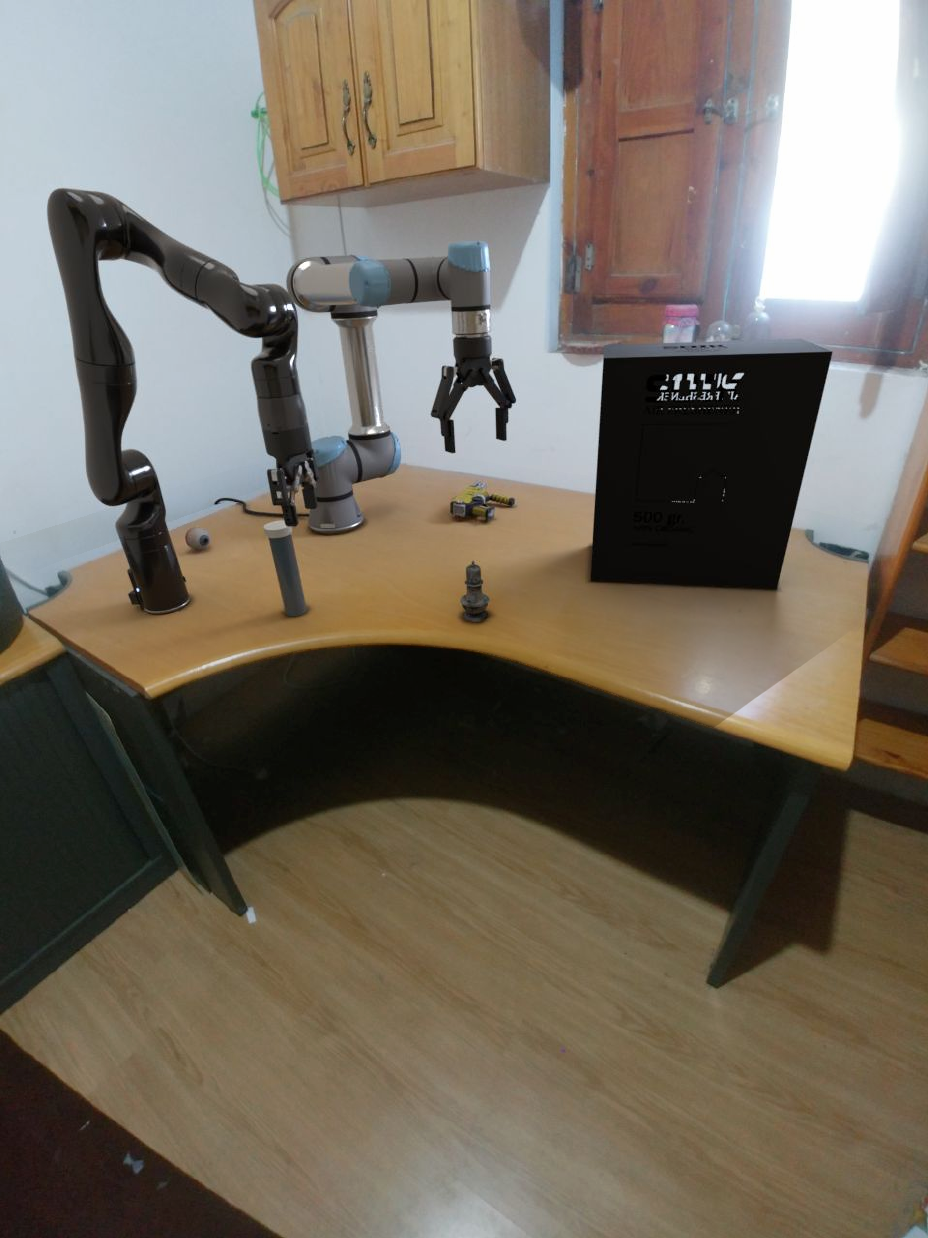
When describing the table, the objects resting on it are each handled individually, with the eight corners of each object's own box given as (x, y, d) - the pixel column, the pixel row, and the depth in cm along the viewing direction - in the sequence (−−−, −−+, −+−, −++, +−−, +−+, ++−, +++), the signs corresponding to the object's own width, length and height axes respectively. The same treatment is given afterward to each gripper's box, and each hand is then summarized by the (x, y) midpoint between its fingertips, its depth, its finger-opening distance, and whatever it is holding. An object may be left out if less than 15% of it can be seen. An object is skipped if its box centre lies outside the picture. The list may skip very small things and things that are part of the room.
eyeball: (199, 555, 155) (192, 533, 152) (183, 551, 158) (177, 529, 155) (218, 547, 159) (212, 525, 156) (203, 543, 162) (197, 522, 159)
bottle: (304, 616, 125) (286, 530, 115) (283, 617, 125) (263, 532, 115) (308, 605, 129) (291, 522, 119) (288, 606, 129) (269, 523, 119)
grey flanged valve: (487, 623, 118) (485, 567, 112) (458, 621, 119) (454, 566, 113) (492, 608, 123) (490, 554, 117) (464, 607, 124) (461, 553, 118)
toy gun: (523, 485, 181) (476, 478, 185) (501, 509, 161) (448, 500, 165) (521, 500, 184) (475, 493, 187) (499, 525, 163) (447, 517, 167)
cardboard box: (756, 549, 141) (800, 338, 118) (776, 589, 124) (832, 351, 101) (592, 544, 148) (604, 344, 126) (590, 580, 131) (603, 357, 109)
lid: (289, 537, 116) (287, 529, 115) (262, 538, 116) (260, 530, 115) (295, 527, 120) (293, 519, 119) (269, 528, 120) (267, 520, 119)
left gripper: (281, 414, 105) (299, 503, 114) (242, 433, 93) (264, 531, 102) (322, 413, 104) (336, 503, 112) (287, 433, 92) (306, 532, 100)
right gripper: (429, 342, 108) (437, 460, 118) (533, 329, 120) (532, 437, 131) (407, 340, 113) (417, 454, 124) (508, 328, 125) (510, 432, 136)
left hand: (302, 516), depth 107 cm, fingers open, 8 cm apart
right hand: (476, 445), depth 127 cm, fingers open, 13 cm apart
